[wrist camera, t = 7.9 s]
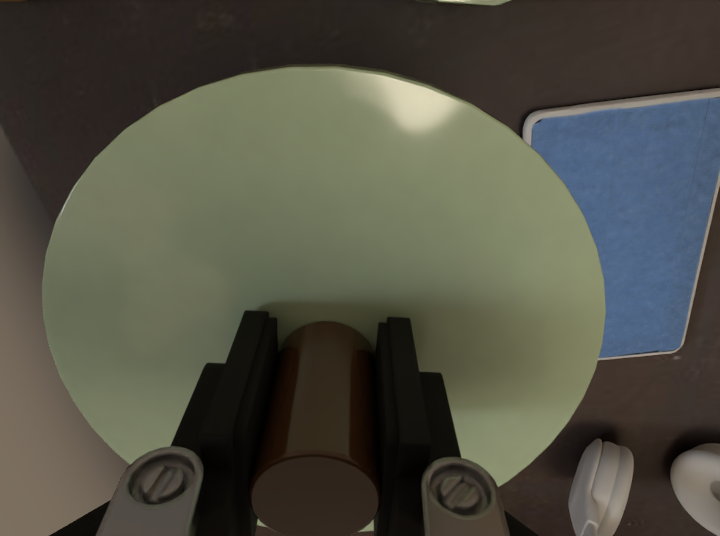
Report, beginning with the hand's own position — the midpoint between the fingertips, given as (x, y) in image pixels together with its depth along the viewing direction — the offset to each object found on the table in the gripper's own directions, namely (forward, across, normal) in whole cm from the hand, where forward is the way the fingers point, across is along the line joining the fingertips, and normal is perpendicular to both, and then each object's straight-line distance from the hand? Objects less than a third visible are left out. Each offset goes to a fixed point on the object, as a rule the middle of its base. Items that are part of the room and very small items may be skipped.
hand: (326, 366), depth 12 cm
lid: (+1, 0, 0) cm, 1 cm away
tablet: (+22, -18, +6) cm, 29 cm away
